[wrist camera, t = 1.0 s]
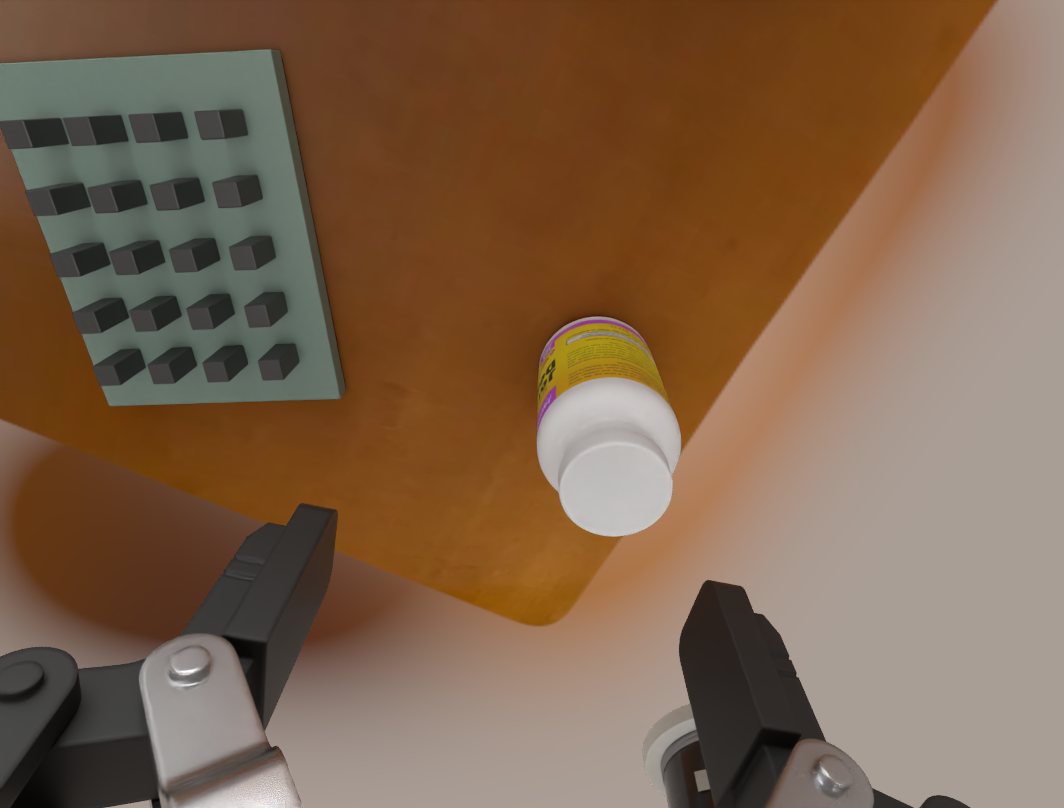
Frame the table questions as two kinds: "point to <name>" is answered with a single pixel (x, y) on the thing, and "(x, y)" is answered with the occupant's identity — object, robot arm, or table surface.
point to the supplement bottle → (605, 427)
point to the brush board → (177, 223)
